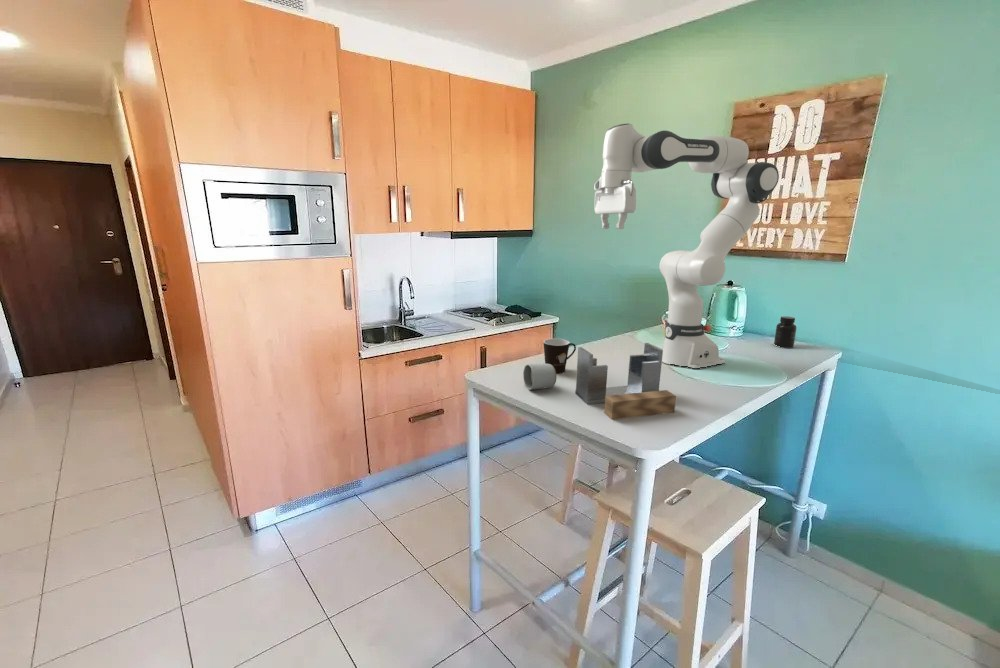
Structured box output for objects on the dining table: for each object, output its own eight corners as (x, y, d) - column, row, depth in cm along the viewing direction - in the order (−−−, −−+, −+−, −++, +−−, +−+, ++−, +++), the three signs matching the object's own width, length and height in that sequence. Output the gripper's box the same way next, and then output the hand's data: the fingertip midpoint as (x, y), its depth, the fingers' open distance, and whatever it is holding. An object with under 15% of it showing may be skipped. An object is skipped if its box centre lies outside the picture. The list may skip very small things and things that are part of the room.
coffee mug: (544, 375, 140) (545, 345, 138) (540, 366, 148) (541, 338, 146) (579, 374, 140) (581, 345, 138) (574, 366, 149) (575, 338, 146)
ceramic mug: (557, 390, 127) (558, 365, 126) (532, 393, 125) (533, 368, 123) (542, 379, 137) (542, 355, 135) (518, 382, 134) (518, 358, 132)
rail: (664, 407, 116) (666, 390, 115) (674, 413, 113) (676, 395, 111) (604, 413, 112) (605, 396, 111) (611, 420, 108) (613, 402, 107)
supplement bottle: (787, 344, 178) (792, 315, 175) (796, 348, 171) (802, 319, 168) (770, 343, 179) (774, 315, 176) (778, 348, 172) (783, 319, 169)
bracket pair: (643, 387, 130) (647, 342, 126) (658, 397, 122) (663, 350, 119) (575, 393, 125) (577, 347, 121) (587, 404, 117) (590, 355, 114)
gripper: (643, 179, 122) (639, 229, 125) (609, 185, 141) (606, 228, 145) (623, 178, 121) (619, 229, 124) (591, 184, 140) (589, 228, 143)
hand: (612, 228), depth 135 cm, fingers open, 8 cm apart
